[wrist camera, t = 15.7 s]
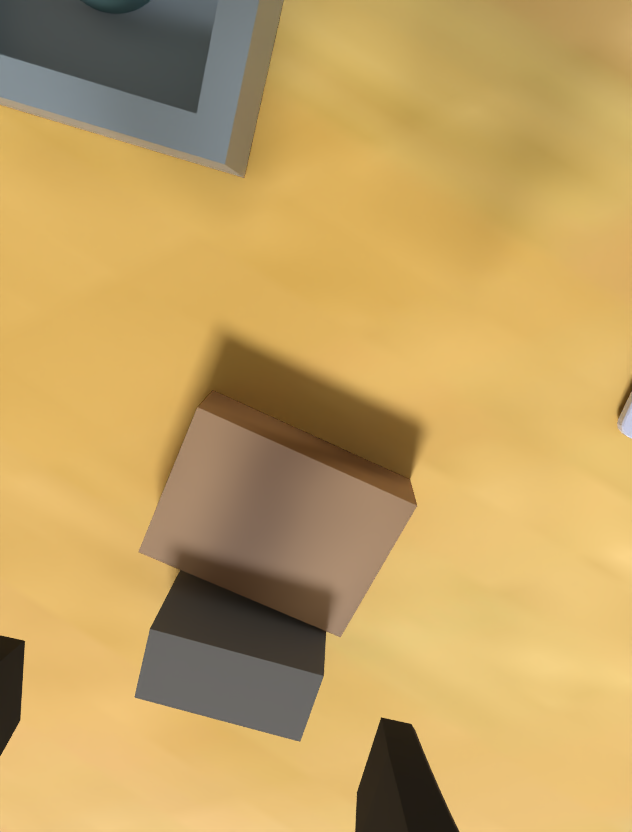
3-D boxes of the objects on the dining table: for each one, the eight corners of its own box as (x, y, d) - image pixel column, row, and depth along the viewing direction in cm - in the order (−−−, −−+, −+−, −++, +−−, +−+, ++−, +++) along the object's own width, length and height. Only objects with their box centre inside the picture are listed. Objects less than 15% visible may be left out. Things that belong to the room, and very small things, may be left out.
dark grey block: (327, 601, 22) (323, 675, 18) (307, 659, 23) (300, 741, 19) (184, 561, 22) (150, 628, 18) (170, 621, 23) (134, 697, 19)
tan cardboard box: (409, 475, 21) (417, 505, 18) (341, 595, 22) (340, 637, 20) (215, 387, 20) (197, 407, 18) (161, 518, 22) (138, 552, 19)
